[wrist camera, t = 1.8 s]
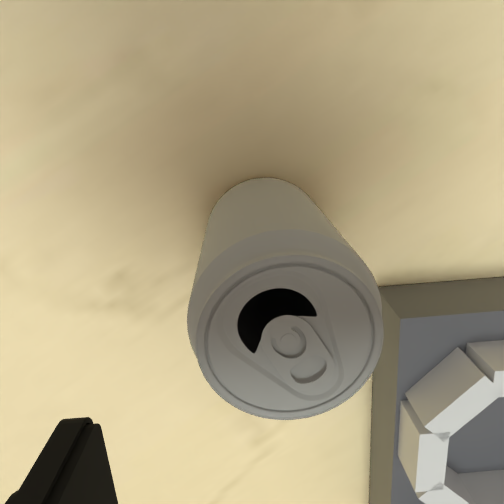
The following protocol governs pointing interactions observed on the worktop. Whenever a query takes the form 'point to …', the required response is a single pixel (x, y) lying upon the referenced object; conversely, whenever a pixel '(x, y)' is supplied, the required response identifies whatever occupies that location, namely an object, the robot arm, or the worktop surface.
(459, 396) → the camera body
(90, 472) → the robot arm
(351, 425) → the worktop surface
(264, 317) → the beverage can
